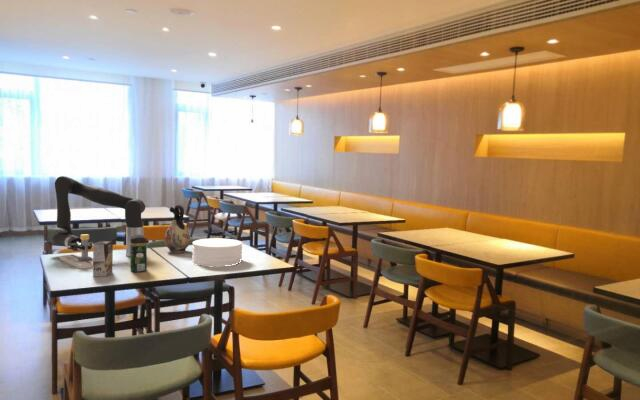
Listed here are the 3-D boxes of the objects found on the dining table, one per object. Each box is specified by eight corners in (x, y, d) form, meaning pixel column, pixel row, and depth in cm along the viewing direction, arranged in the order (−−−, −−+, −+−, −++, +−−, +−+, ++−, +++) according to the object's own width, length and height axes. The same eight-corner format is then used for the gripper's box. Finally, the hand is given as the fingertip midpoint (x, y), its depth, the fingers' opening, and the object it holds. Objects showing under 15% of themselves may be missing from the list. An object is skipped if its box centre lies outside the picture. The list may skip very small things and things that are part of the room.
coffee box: (106, 276, 230) (106, 244, 229) (92, 276, 230) (92, 243, 229) (112, 272, 240) (113, 240, 238) (99, 271, 239) (99, 240, 238)
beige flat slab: (60, 259, 262) (60, 255, 262) (80, 257, 270) (80, 253, 270) (80, 268, 243) (80, 264, 243) (102, 266, 251) (102, 261, 251)
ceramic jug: (159, 251, 295) (160, 203, 293) (180, 248, 307) (181, 202, 304) (174, 255, 284) (175, 206, 282) (196, 252, 296) (197, 205, 293)
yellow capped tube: (77, 259, 252) (77, 234, 251) (88, 258, 256) (88, 233, 255) (80, 261, 249) (80, 235, 248) (91, 259, 253) (91, 234, 252)
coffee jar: (129, 268, 248) (129, 233, 246) (145, 267, 252) (145, 233, 250) (130, 273, 239) (131, 236, 238) (147, 272, 243) (147, 236, 241)
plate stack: (249, 265, 269) (249, 245, 268) (200, 269, 255) (201, 248, 254) (231, 255, 293) (231, 237, 292) (186, 258, 278) (186, 239, 277)
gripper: (60, 237, 256) (73, 242, 245) (87, 235, 266) (100, 239, 255) (60, 251, 257) (73, 256, 245) (87, 248, 267) (100, 253, 256)
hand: (87, 247), depth 250 cm, fingers closed on yellow capped tube, 2 cm apart
